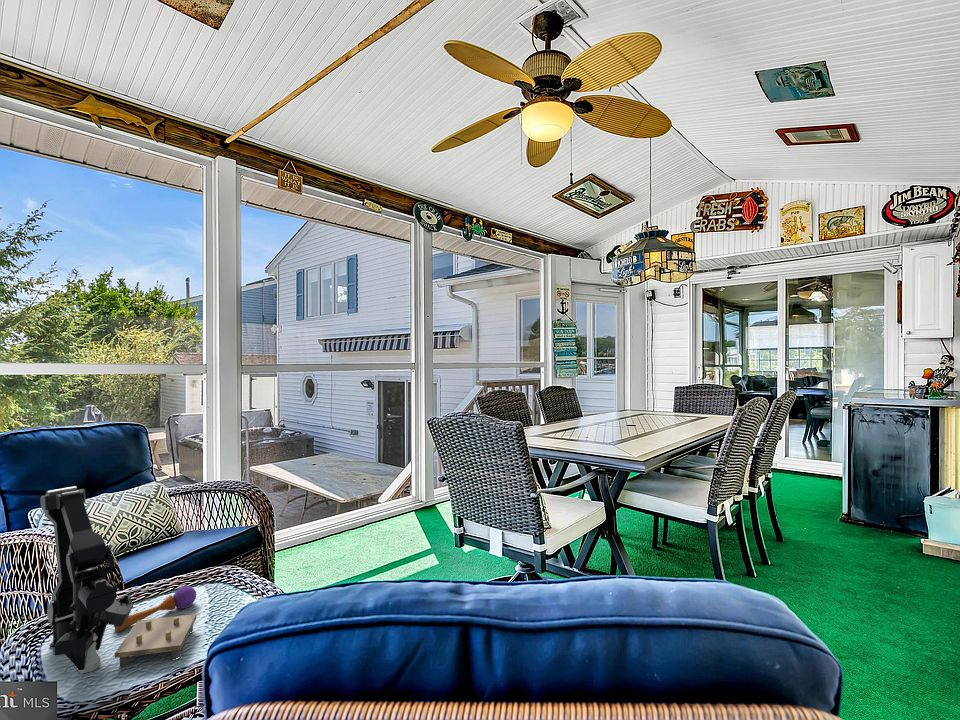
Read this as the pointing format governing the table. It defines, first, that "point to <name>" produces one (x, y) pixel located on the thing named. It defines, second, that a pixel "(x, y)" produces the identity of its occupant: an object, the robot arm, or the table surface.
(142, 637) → the peg board
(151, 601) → the table surface
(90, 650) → the rook chess piece
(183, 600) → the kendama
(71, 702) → the table surface
